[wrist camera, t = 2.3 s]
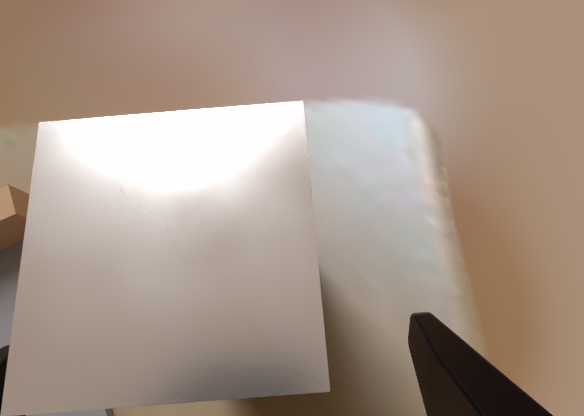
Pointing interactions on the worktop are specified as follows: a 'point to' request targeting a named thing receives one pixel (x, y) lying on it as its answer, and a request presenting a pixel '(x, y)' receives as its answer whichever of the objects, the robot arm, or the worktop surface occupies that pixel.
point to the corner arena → (6, 265)
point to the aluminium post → (168, 263)
